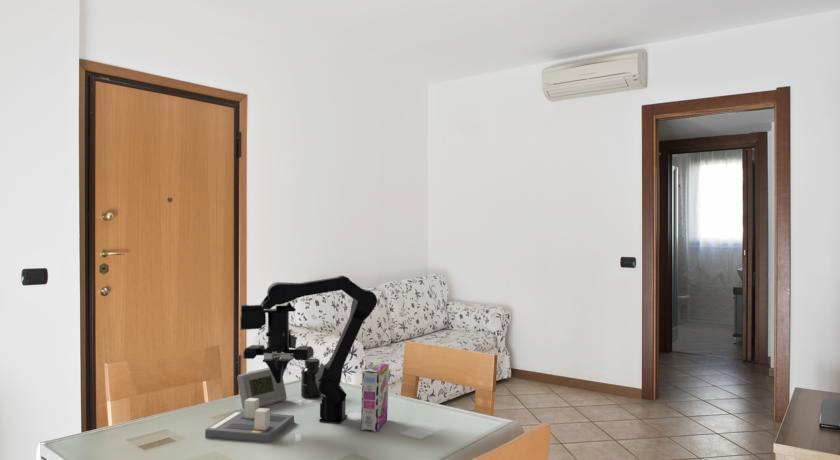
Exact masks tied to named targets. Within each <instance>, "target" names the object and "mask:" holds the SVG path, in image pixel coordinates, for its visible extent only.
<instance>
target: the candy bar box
mask: <svg viewBox="0 0 840 460" xmlns="http://www.w3.org/2000/svg"><path fill="white" fill-rule="evenodd" d="M389 367H390V365H389V363H381V362H380V363H375V362H373V363H372V364H371V365H369V366H368V367H366V368H365V369H364V370H362V377H361V409H360V410H361V412H360V413H361V416H360V418H361V421H360V431H364V432H373V433H377V432H378V431H379V430H380V428H382V426H383V425H384V424H385V422H386V421H387V420H388V408H389V407H388V405H389V404H388V403H389V402H388V399H389V394H388V393H389V372H390V371H389Z"/></svg>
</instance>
